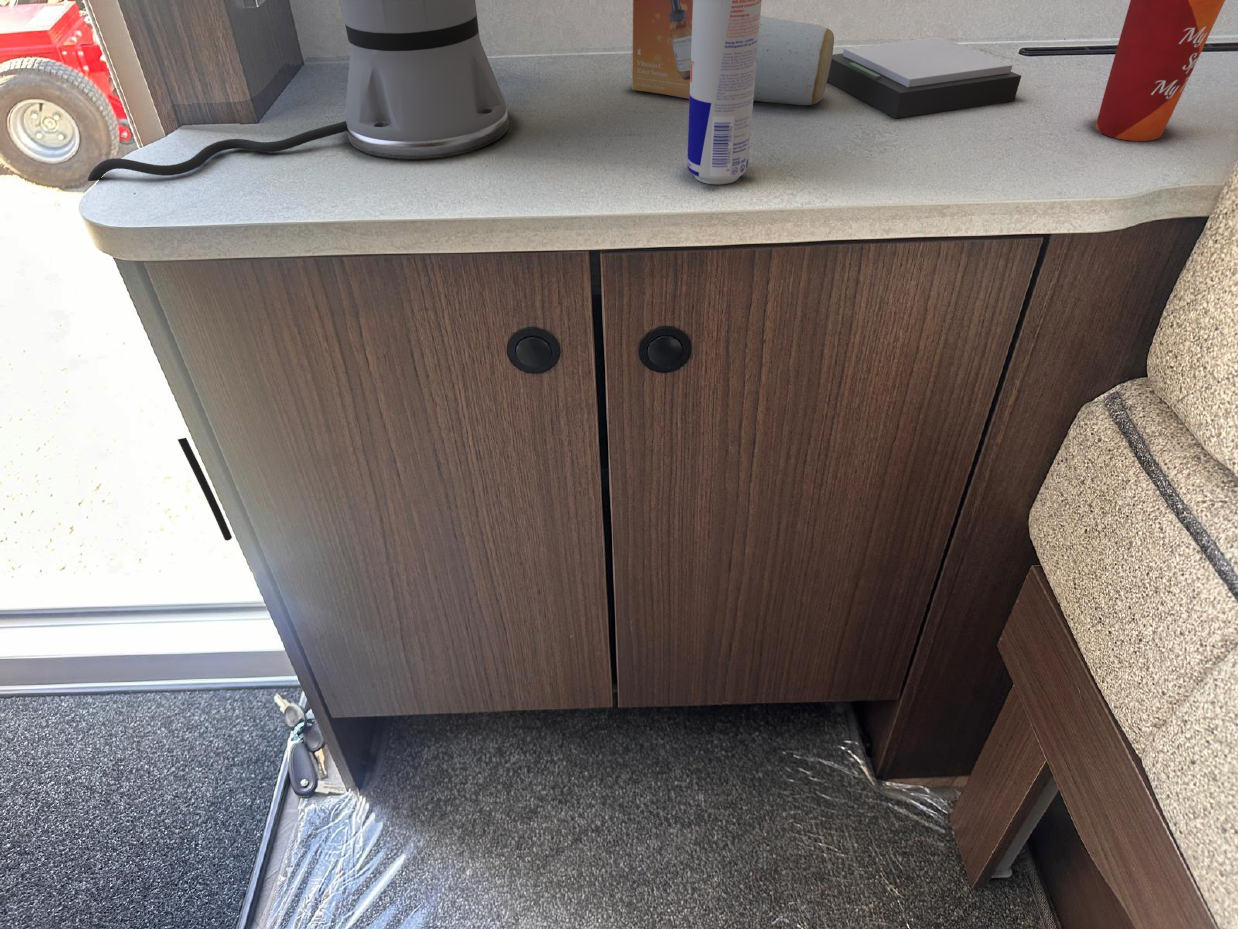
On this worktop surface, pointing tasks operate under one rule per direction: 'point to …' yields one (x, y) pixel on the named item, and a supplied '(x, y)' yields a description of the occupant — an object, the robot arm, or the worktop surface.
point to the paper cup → (1153, 65)
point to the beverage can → (722, 88)
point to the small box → (662, 46)
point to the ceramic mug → (792, 61)
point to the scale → (922, 76)
